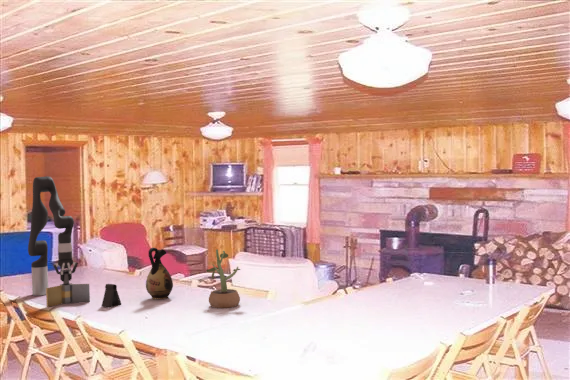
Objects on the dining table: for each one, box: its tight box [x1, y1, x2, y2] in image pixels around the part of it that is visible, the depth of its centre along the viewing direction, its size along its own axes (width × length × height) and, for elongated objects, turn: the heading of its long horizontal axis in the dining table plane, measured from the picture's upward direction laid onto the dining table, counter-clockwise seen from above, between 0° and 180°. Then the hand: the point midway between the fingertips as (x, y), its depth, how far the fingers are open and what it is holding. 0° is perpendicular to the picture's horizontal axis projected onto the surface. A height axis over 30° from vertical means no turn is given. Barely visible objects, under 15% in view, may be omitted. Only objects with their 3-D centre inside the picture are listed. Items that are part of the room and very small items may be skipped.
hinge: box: [45, 282, 91, 308], centre depth 356 cm, size 10×23×10 cm, turn 118°
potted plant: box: [205, 249, 242, 309], centre depth 342 cm, size 22×18×30 cm
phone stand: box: [101, 283, 122, 309], centre depth 346 cm, size 9×6×12 cm, turn 146°
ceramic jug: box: [145, 247, 174, 300], centre depth 363 cm, size 17×15×30 cm
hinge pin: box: [62, 268, 70, 285], centre depth 358 cm, size 4×4×14 cm
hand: (66, 280), depth 358 cm, fingers closed on hinge pin, 3 cm apart
